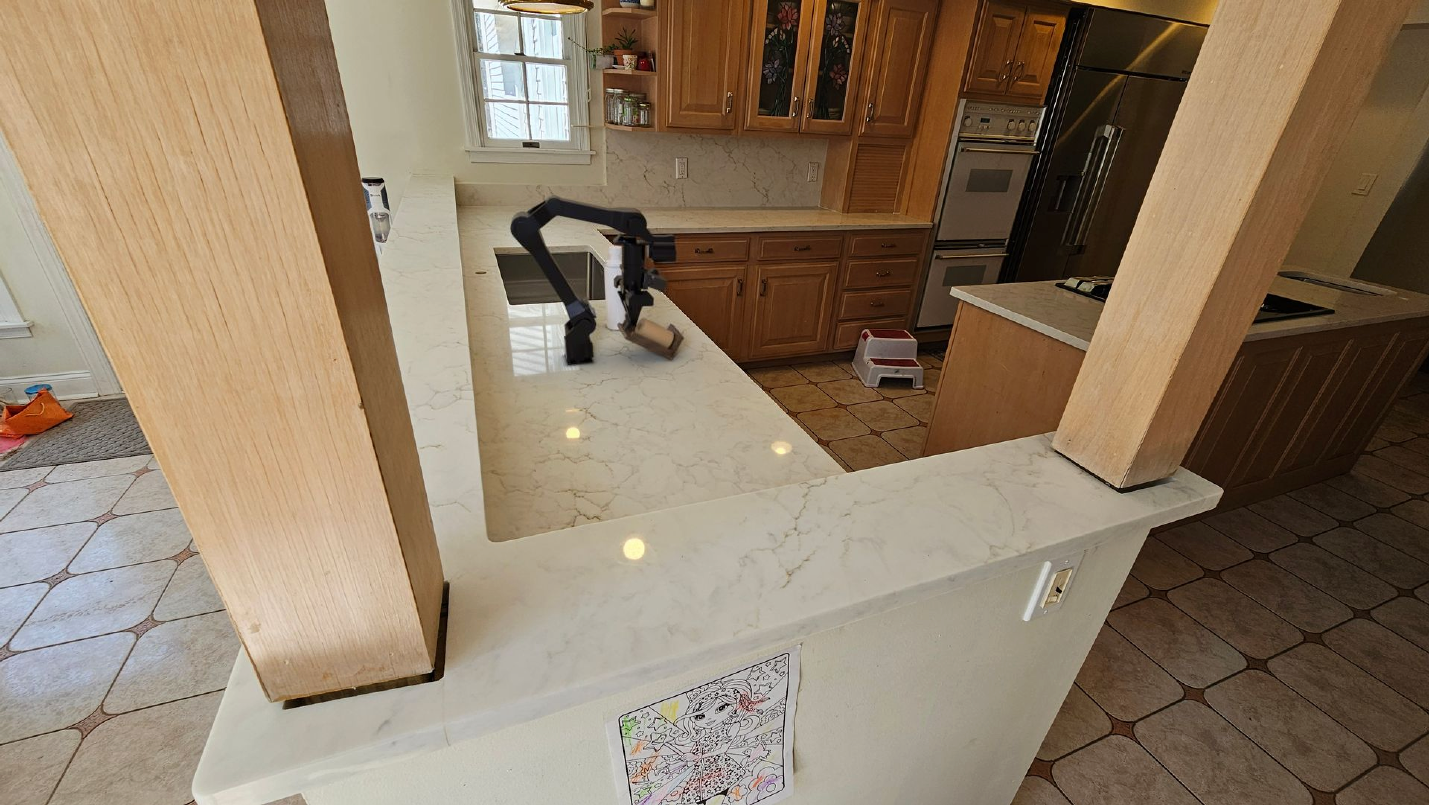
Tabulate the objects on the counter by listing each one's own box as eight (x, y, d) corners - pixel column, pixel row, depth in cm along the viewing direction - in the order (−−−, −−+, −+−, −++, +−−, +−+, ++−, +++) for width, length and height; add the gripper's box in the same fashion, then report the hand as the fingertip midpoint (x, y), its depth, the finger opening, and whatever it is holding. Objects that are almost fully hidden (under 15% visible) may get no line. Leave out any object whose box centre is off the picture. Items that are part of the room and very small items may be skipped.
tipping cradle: (620, 336, 152) (634, 312, 150) (612, 323, 160) (625, 300, 159) (671, 360, 160) (684, 337, 158) (660, 346, 168) (673, 324, 166)
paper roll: (636, 338, 156) (646, 322, 155) (633, 330, 160) (642, 314, 159) (666, 352, 161) (675, 336, 160) (661, 344, 165) (671, 329, 164)
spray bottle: (633, 325, 182) (632, 240, 171) (620, 331, 177) (617, 245, 165) (615, 320, 185) (612, 237, 173) (602, 327, 179) (598, 241, 168)
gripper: (675, 271, 145) (672, 333, 152) (655, 253, 160) (653, 310, 167) (629, 272, 141) (628, 336, 148) (613, 253, 156) (613, 311, 163)
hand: (632, 322), depth 157 cm, fingers closed on tipping cradle, 3 cm apart
